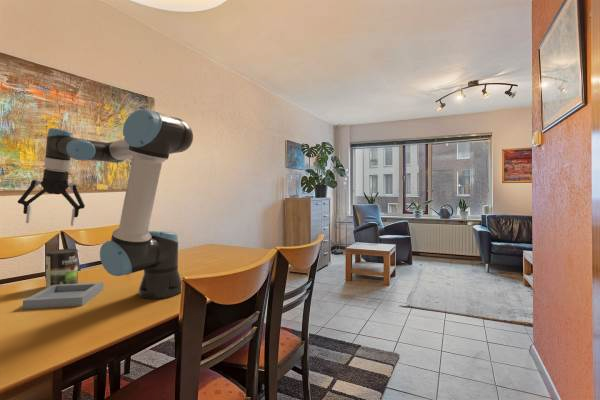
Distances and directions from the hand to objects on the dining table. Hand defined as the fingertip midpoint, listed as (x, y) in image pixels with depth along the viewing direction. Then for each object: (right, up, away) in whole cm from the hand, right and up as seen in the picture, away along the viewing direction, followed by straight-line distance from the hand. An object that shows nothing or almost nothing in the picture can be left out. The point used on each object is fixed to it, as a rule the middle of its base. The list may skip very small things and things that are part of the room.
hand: (50, 223), depth 121 cm
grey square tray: (+15, -25, -11) cm, 31 cm away
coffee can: (+2, -25, +3) cm, 26 cm away
